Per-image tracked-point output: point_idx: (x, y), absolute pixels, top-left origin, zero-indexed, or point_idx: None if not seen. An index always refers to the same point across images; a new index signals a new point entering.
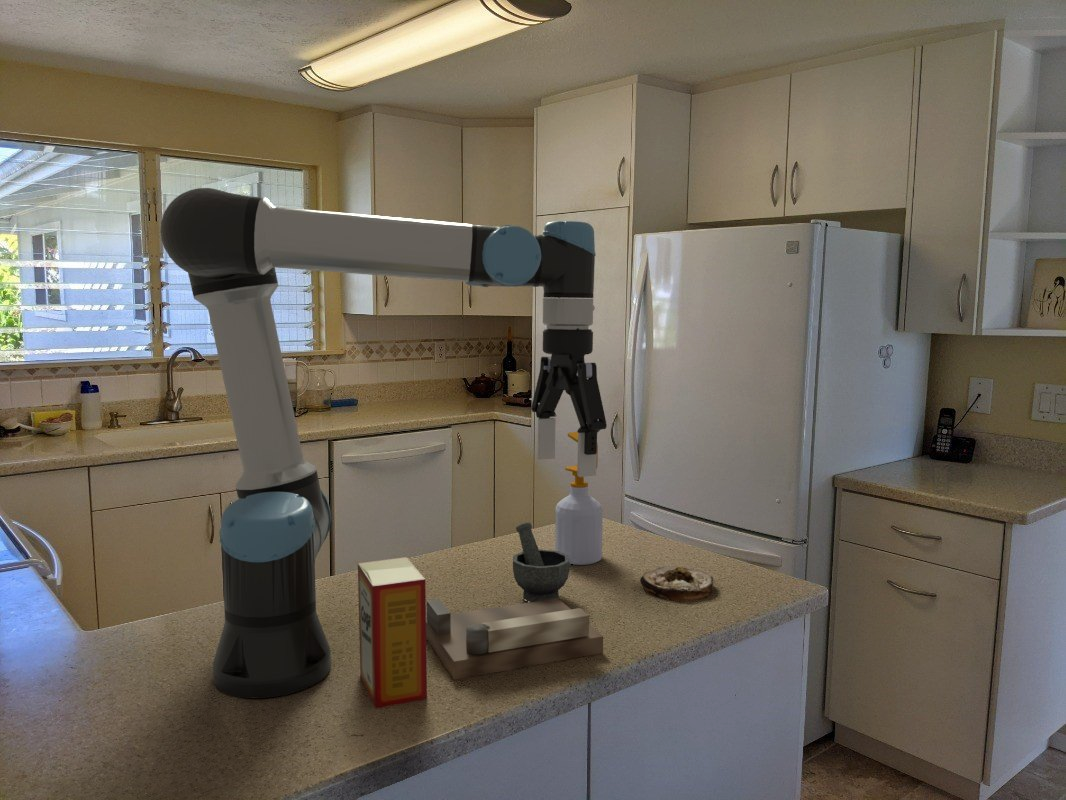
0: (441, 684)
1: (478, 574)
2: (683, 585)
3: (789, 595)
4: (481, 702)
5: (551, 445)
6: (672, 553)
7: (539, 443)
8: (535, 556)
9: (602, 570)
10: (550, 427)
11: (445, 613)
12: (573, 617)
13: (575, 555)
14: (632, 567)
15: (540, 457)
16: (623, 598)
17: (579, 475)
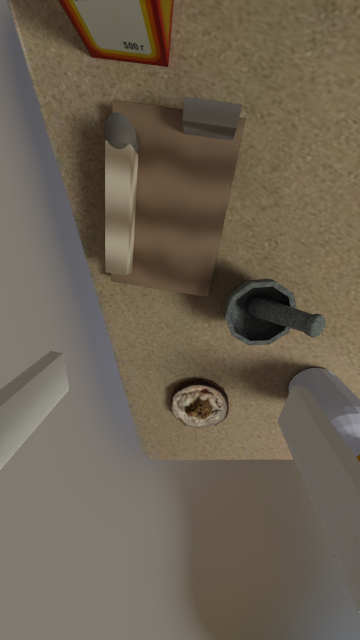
0: (116, 91)
1: (354, 280)
2: (182, 400)
3: (147, 440)
4: (68, 118)
5: (297, 450)
6: (262, 443)
7: (322, 428)
8: (269, 313)
9: (269, 382)
10: (338, 530)
11: (184, 112)
12: (106, 255)
13: (302, 379)
14: (258, 404)
15: (293, 391)
16: (204, 357)
17: (48, 353)
